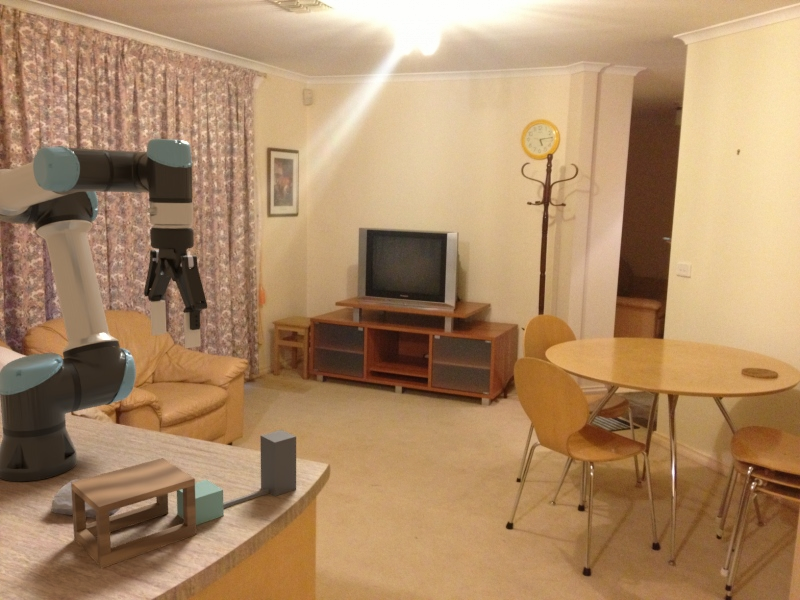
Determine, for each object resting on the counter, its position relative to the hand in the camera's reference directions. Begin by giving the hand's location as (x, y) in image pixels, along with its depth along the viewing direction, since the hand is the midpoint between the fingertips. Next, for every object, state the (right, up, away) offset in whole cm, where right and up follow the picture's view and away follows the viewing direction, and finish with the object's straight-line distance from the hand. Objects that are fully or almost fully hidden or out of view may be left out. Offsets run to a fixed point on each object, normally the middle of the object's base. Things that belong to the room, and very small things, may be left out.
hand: (175, 340), depth 129 cm
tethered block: (+11, -31, +3) cm, 33 cm away
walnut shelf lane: (-3, -33, -11) cm, 35 cm away
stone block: (-16, -31, 0) cm, 35 cm away
